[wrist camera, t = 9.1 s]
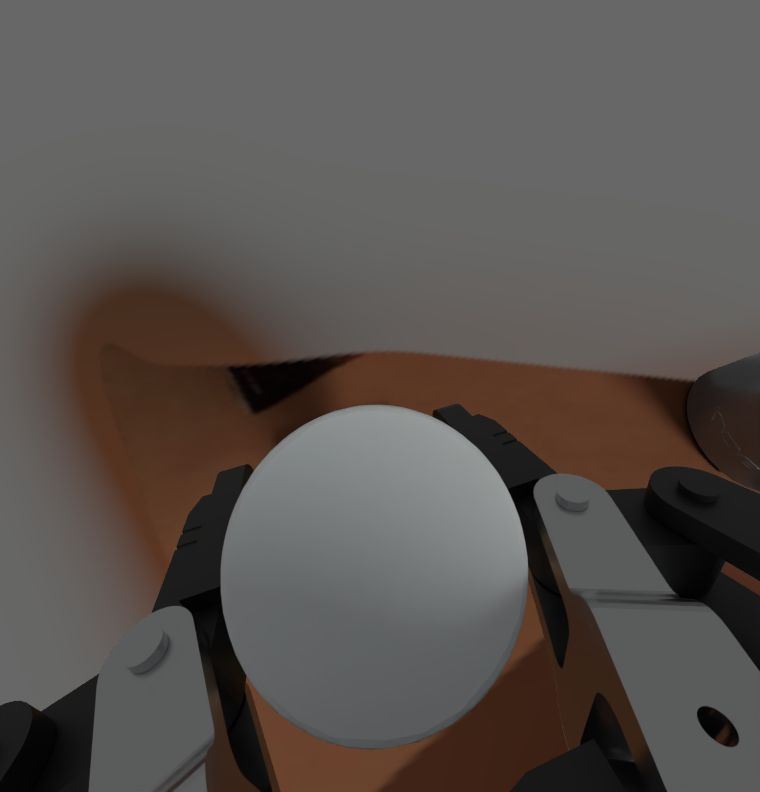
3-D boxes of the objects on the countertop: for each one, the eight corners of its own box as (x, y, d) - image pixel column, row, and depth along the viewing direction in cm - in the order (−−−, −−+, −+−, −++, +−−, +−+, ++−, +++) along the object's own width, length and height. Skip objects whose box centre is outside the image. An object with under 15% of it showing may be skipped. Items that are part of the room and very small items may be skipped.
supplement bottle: (284, 480, 14) (123, 428, 4) (400, 434, 15) (470, 311, 5) (326, 617, 12) (214, 987, 3) (452, 556, 13) (680, 682, 4)
